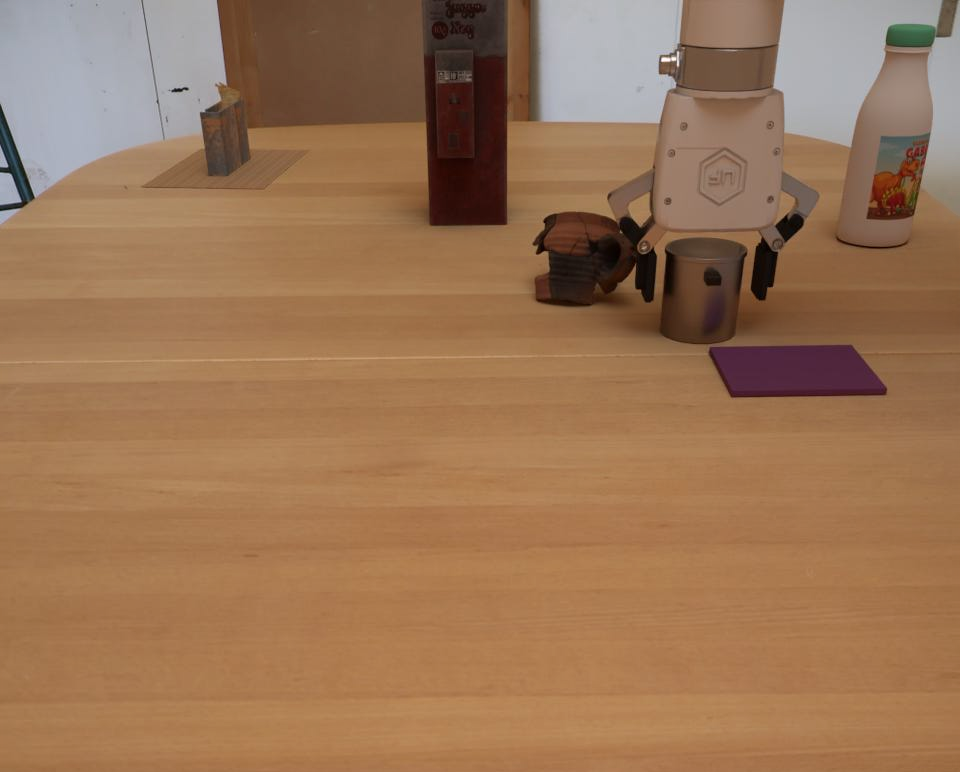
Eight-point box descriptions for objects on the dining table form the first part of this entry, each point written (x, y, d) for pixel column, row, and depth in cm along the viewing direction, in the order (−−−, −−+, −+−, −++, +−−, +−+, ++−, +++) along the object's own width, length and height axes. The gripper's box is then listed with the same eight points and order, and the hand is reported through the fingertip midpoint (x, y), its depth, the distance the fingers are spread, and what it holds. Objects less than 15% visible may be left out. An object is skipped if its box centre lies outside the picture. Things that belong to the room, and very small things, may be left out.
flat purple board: (850, 350, 95) (851, 344, 95) (886, 394, 87) (887, 388, 87) (708, 352, 95) (709, 346, 94) (731, 396, 87) (732, 390, 86)
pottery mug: (505, 301, 108) (515, 212, 107) (566, 325, 115) (576, 242, 114) (605, 291, 100) (618, 195, 99) (664, 318, 107) (676, 228, 106)
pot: (726, 313, 103) (735, 232, 99) (747, 349, 95) (758, 263, 91) (650, 314, 103) (657, 233, 99) (666, 350, 95) (673, 264, 91)
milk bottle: (832, 245, 121) (869, 28, 109) (837, 228, 127) (873, 20, 115) (907, 251, 119) (954, 30, 107) (909, 233, 125) (953, 22, 113)
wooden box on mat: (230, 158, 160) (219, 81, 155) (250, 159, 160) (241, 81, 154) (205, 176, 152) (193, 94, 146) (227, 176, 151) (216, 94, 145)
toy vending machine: (428, 230, 128) (417, -71, 111) (432, 206, 137) (423, -76, 120) (507, 229, 128) (508, -72, 111) (506, 205, 136) (507, -77, 120)
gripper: (619, 80, 84) (607, 312, 94) (850, 76, 84) (812, 308, 94) (609, 66, 90) (598, 286, 100) (824, 62, 90) (791, 282, 100)
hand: (702, 297), depth 97 cm, fingers open, 9 cm apart
